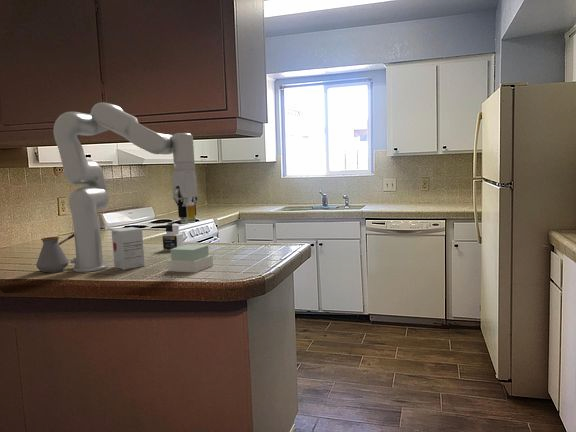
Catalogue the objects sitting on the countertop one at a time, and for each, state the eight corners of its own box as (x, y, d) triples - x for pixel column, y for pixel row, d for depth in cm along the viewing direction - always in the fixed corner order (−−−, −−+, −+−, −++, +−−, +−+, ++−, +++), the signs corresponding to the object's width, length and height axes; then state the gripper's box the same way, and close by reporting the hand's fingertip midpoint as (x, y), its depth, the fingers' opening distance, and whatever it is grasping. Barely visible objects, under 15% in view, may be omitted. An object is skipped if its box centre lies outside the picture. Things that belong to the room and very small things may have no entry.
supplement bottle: (196, 221, 188) (194, 195, 187) (194, 223, 183) (192, 196, 182) (182, 222, 188) (180, 196, 187) (179, 223, 182) (177, 197, 181)
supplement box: (113, 267, 196) (110, 229, 194) (135, 263, 202) (132, 226, 200) (123, 270, 189) (120, 231, 188) (145, 266, 195) (142, 228, 194)
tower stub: (167, 271, 184) (166, 249, 183) (186, 264, 195) (185, 244, 194) (195, 272, 179) (194, 250, 178) (213, 265, 190) (211, 244, 189)
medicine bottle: (163, 250, 230) (161, 224, 229) (170, 248, 237) (168, 222, 236) (177, 250, 228) (175, 224, 227) (184, 248, 235) (182, 222, 234)
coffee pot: (46, 275, 186) (42, 235, 184) (31, 272, 193) (27, 233, 191) (97, 264, 203) (94, 228, 201) (82, 262, 210) (79, 226, 208)
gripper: (188, 167, 192) (191, 213, 194) (161, 168, 177) (165, 219, 179) (205, 166, 190) (208, 213, 191) (179, 167, 174) (182, 219, 176)
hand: (187, 215), depth 185 cm, fingers closed on supplement bottle, 5 cm apart
